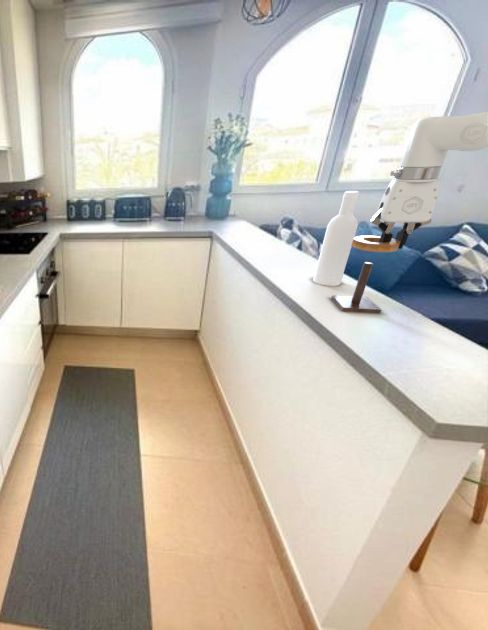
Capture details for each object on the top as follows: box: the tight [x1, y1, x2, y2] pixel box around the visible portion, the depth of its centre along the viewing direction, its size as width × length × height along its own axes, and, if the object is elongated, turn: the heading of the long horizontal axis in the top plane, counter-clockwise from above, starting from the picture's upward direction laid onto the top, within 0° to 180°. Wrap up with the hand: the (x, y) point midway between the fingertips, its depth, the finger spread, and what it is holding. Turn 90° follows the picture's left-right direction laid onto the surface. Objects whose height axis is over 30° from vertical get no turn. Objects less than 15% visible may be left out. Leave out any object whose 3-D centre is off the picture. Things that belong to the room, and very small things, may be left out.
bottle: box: [312, 190, 360, 287], centre depth 112 cm, size 8×8×30 cm
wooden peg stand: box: [330, 261, 382, 315], centre depth 98 cm, size 9×9×14 cm
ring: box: [351, 235, 401, 253], centre depth 93 cm, size 10×10×2 cm
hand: (390, 246), depth 92 cm, fingers closed on ring, 2 cm apart
